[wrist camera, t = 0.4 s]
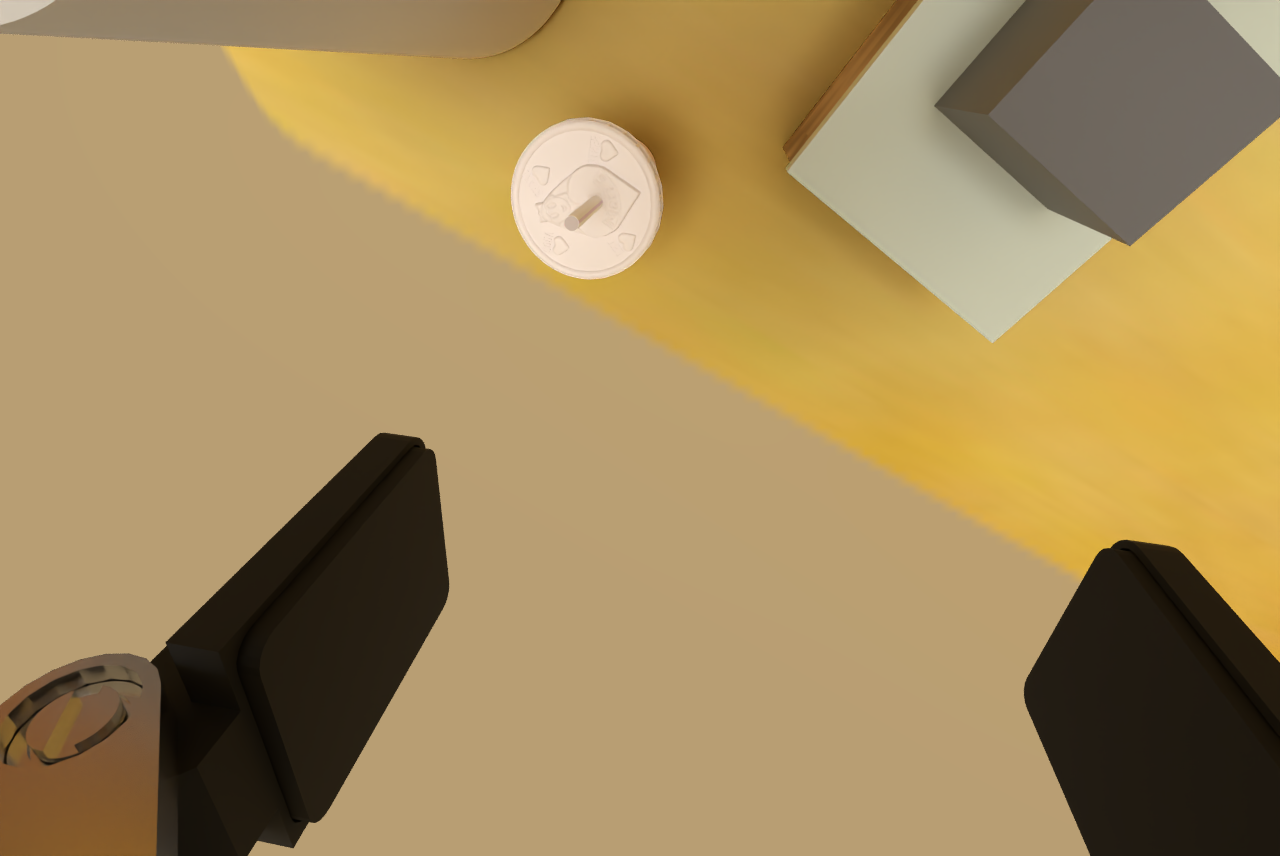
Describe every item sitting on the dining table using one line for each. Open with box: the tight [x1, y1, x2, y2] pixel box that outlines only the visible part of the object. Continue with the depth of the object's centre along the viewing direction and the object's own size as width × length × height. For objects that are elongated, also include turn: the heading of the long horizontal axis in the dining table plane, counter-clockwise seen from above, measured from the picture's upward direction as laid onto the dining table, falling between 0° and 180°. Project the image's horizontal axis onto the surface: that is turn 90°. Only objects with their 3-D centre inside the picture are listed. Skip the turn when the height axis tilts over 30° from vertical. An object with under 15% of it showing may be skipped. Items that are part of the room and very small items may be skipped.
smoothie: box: [511, 117, 663, 279], centre depth 28 cm, size 6×6×14 cm
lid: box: [785, 0, 1280, 343], centre depth 21 cm, size 14×11×8 cm
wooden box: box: [783, 0, 918, 161], centre depth 27 cm, size 14×11×8 cm
